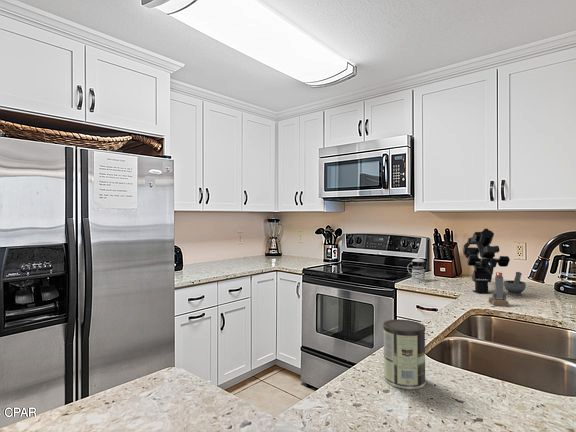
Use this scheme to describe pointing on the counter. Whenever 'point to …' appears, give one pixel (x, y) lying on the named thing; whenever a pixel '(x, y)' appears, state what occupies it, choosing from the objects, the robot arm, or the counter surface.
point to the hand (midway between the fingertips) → (491, 274)
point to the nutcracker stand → (498, 300)
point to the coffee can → (404, 354)
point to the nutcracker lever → (499, 285)
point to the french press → (422, 271)
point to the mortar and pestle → (515, 286)
